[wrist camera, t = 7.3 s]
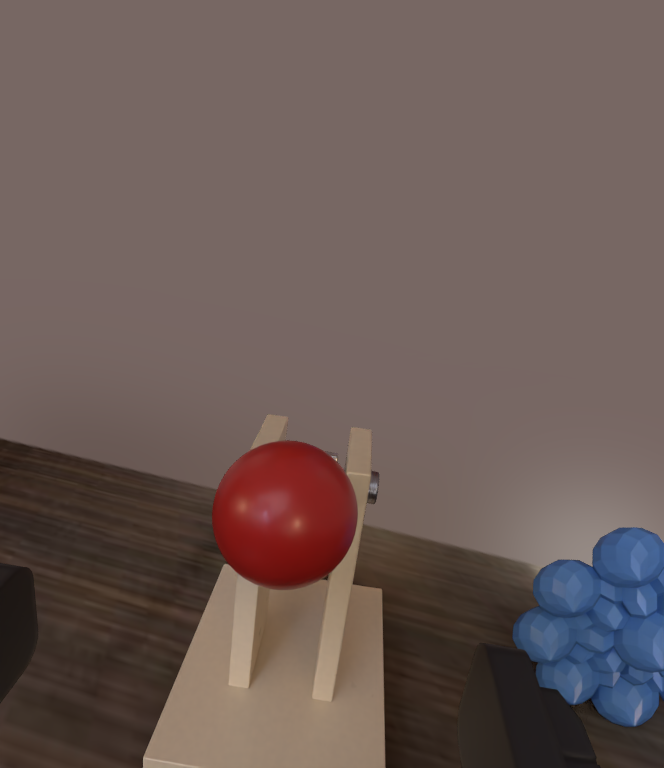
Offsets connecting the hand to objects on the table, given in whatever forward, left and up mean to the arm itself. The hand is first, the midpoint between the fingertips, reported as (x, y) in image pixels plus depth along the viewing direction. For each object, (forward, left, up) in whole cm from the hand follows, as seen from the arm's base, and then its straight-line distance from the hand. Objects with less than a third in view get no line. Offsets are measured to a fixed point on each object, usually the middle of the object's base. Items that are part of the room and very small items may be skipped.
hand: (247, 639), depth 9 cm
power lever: (-3, +7, -4) cm, 8 cm away
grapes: (+10, +21, -16) cm, 28 cm away
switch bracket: (-5, +12, -16) cm, 21 cm away
